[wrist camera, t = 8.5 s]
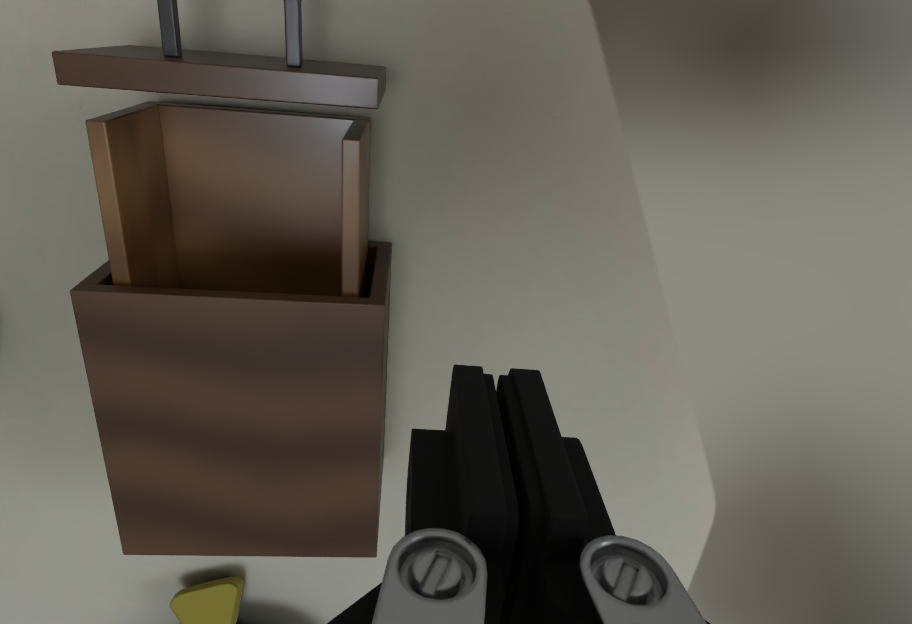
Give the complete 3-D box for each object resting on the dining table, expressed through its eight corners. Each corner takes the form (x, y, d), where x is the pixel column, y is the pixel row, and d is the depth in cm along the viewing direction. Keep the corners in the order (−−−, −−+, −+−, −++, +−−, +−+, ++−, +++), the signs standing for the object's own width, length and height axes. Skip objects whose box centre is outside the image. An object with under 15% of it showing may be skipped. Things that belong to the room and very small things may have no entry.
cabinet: (149, 228, 34) (69, 290, 26) (391, 242, 36) (385, 305, 28) (179, 451, 41) (123, 555, 33) (383, 456, 42) (376, 557, 34)
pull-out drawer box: (109, -99, 27) (16, -136, 21) (390, -70, 28) (383, -97, 22) (164, 315, 36) (111, 377, 29) (378, 324, 37) (370, 387, 30)
